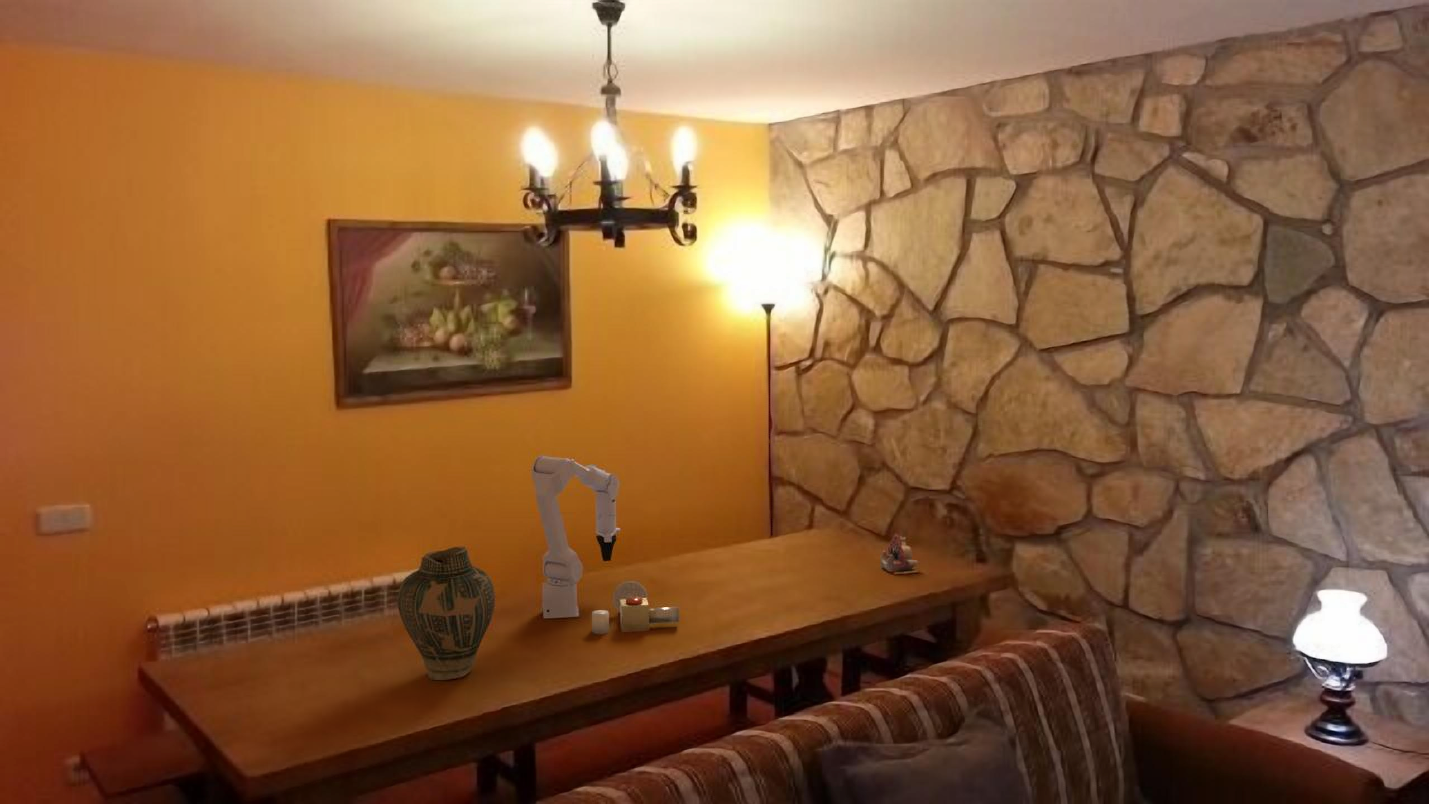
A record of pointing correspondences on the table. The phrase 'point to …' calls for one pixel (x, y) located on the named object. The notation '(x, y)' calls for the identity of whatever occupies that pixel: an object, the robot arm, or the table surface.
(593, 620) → the pvc coupling
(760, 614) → the table surface
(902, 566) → the grey pink figurine
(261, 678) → the table surface
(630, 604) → the beige red button device
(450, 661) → the vase
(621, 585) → the showerhead
